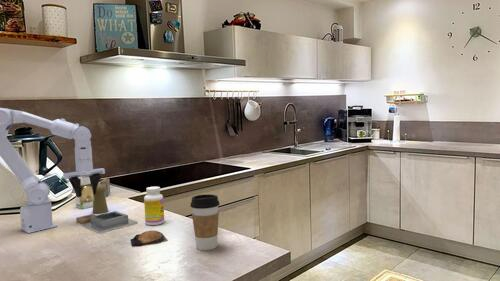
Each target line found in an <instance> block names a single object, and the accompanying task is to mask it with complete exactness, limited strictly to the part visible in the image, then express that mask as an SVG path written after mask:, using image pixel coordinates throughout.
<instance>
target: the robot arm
mask: <svg viewBox="0 0 500 281" xmlns="http://www.w3.org/2000/svg"><path fill="white" fill-rule="evenodd" d="M22 123H25V124H28V125H31V126H32V125H33V126H36V127H40V128H44V129H48V130H49V131H50V133H51V134H52V135H54V136H57V137H61V138H64V139H69V140H74V144H75V145H74V159H75V171H71V172H64V173H62V178H63V179H64V180H68V181H69V183H70V184H71V187H72V188H73V190H74V193H75V198H76V197H81V192H80V182H81V179H79V178H78V177H83V176H89V178H90V183H91V184H93V193H94V195H95V194H96V189H97V186H98V185H99V184H100V183H99V182H101V180H102V175H103V174H106V169H105V168H103V167H101V168H94V166H93V150H92V142H91V138H92V134H91V131H90V129H89V128H88V127H86V126H83V125H80V124H79V123H77V122H76V123H73V122H69V121H67V120H66V119H65V118H61V119H59V118H57V119H54V120H50V119H47V118H44V117H42V116H38V115H35V114H32V113H30V112H27V111H23V110H16V109H10V108H7V107H5V108H4V107H0V158H1V159H2V160H3V162H4V163H5V164H6V166H7V167H8V168H9V169H10V170H11V172H12V173H13V174H14V176H15V177H16V178H17V180H18V181H19V182H20V183H21V186H22V189H23V190H24V192H25V194H26V199H27V204H26V205H23V206H20V209H19V215H20V230H22V231H23V232H25V233H27V234H29V233H35V232H39V231H43V230H48V229H52V228H56V227H58V225H57V224H56V223H54V221H53V210H52V200H51V199H50V198H49V197H48V196H49V195H50V192H51V188H50V186H49V184H47V183H46V182H43V181H42V180H41V179H40V178H39V177H38V176H37V175H35V173H34V172H33V170H32V169H31V168H30V167H29V165H28V164H27V162H26V161H25V160H24V159H23V157H22V156H21V154H20V153H19V152H18V151H17V149H16V148H15V147H14V146H13V144H12V143H11V141H10V140H9V139H8V134H9V131H10V128H11V127H12V126H13V125H14V124H22ZM82 174H86V175H82Z"/></svg>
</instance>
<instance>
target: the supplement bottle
mask: <svg viewBox="0 0 500 281" xmlns="http://www.w3.org/2000/svg"><path fill="white" fill-rule="evenodd" d="M145 192H146V194H145V196H144V197H143V200H144V202H143V204H144V220H145V224H146V225H147V226H157V225H162V224H163V223H164V222H165V208H164V207H165V206H164V196H163V194H161V193H160V192H161V187H160V186H150V187H149V186H148V187H146V191H145Z"/></svg>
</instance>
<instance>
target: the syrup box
mask: <svg viewBox="0 0 500 281" xmlns="http://www.w3.org/2000/svg"><path fill="white" fill-rule="evenodd" d="M82 175H86V174H82ZM78 178H79V179H81V182H80V185H84V184H91V183H90V178H89V176H83V177H78ZM75 203H76V208H78V209H80V210H84V209H88V208H93V201H92V202H88V203H80V202H79V197H76V196H75Z"/></svg>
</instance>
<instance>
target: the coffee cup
mask: <svg viewBox="0 0 500 281" xmlns="http://www.w3.org/2000/svg"><path fill="white" fill-rule="evenodd" d="M219 206H220V201H219V197H218V195H216V194H210V193H209V194H196V195H194V196H192V197H191V201H190V206H189V207H191V212H192V213H191V215H192V224H193V231H194V237H195V245H196V249H198V250H199V251H212V250H214V249H217V247H218V234H219V232H218V231H219V216H220V213H219V212H220V211H219Z"/></svg>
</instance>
